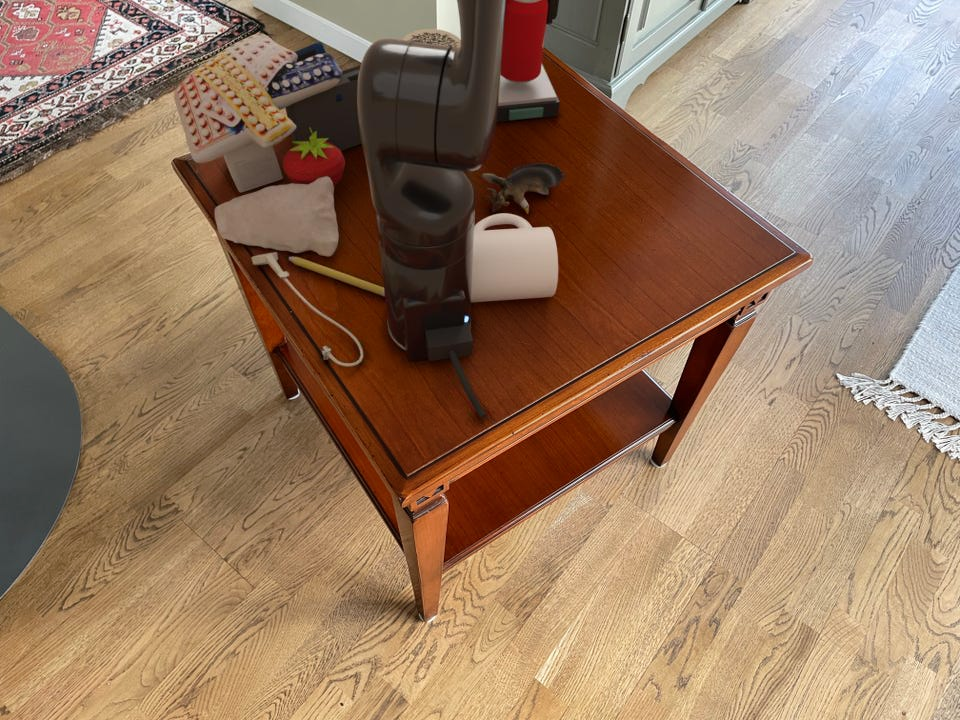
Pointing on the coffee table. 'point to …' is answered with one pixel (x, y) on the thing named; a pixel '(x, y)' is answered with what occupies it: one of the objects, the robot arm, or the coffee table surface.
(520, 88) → the scale
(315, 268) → the pencil
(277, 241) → the decorative stone
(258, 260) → the white cable
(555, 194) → the coffee table surface
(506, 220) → the mug
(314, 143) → the red tomato pincushion
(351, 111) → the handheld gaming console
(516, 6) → the beverage can
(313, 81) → the pill blister packs
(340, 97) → the blue flat block
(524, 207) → the eagle figurine
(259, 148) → the product carton
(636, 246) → the coffee table surface
